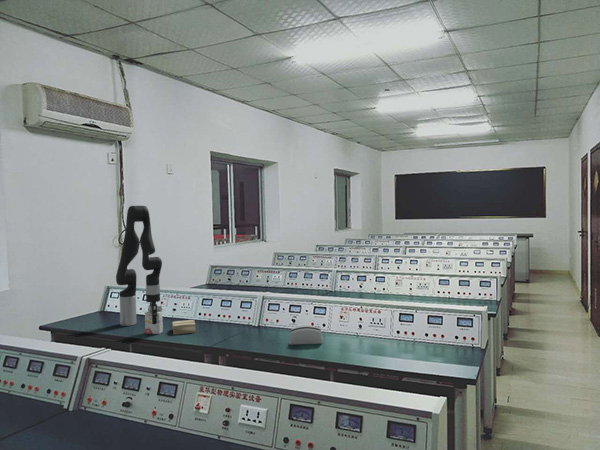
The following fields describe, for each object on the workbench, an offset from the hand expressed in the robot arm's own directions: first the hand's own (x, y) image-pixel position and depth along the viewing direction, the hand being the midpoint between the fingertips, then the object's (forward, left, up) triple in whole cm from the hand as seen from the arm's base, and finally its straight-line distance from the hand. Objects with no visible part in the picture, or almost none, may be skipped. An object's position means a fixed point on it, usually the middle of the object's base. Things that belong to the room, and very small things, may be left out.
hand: (153, 322), depth 270 cm
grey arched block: (+58, +67, -6) cm, 89 cm away
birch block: (+3, +16, -6) cm, 17 cm away
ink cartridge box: (0, 0, -6) cm, 6 cm away
